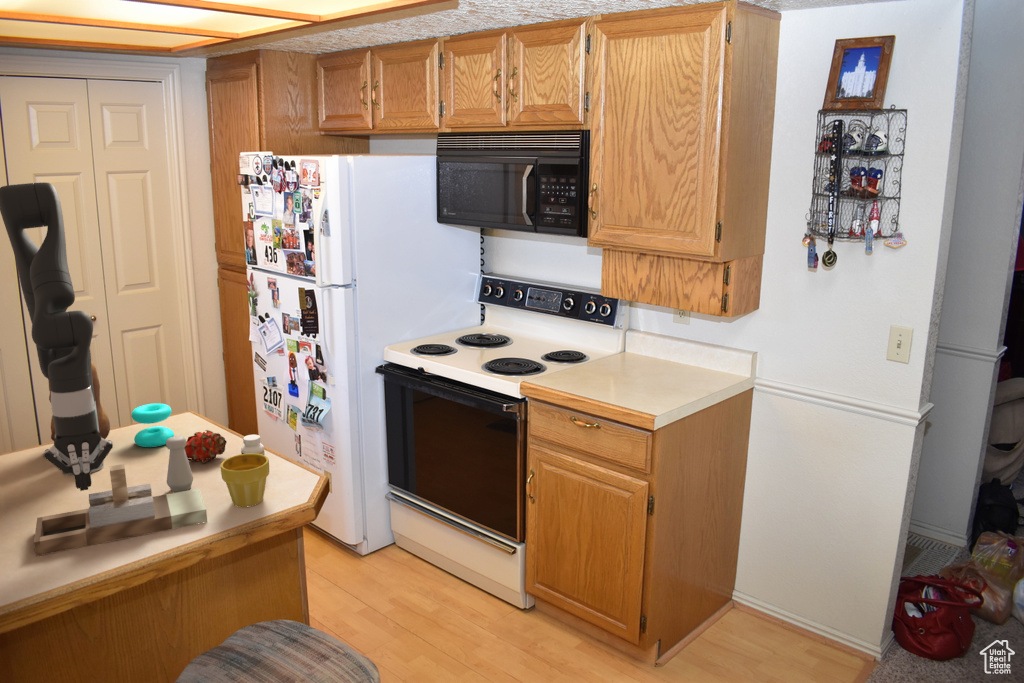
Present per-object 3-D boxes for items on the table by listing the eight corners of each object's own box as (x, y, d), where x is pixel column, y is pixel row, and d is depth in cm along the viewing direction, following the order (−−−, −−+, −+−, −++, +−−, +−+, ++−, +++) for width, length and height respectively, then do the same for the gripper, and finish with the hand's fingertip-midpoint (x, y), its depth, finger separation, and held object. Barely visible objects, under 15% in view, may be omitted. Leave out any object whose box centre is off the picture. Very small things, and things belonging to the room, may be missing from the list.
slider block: (107, 522, 163) (101, 475, 160) (106, 510, 168) (100, 465, 166) (139, 516, 166) (133, 469, 163) (137, 505, 171) (132, 460, 168)
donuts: (156, 399, 220) (178, 406, 215) (160, 433, 222) (182, 440, 217) (123, 409, 212) (144, 416, 207) (127, 444, 214) (148, 451, 209)
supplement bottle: (238, 476, 193) (235, 439, 191) (253, 468, 198) (250, 432, 196) (256, 480, 191) (253, 442, 189) (270, 471, 196) (267, 435, 194)
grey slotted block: (91, 529, 160) (88, 513, 159) (90, 509, 169) (88, 494, 168) (155, 517, 165) (153, 501, 164) (151, 498, 174) (150, 483, 173)
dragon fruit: (232, 462, 206) (184, 476, 201) (225, 436, 210) (178, 450, 206) (228, 445, 199) (179, 459, 195) (221, 419, 204) (172, 432, 199)
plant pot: (252, 514, 173) (248, 473, 171) (214, 507, 177) (210, 466, 174) (280, 495, 183) (278, 456, 180) (244, 489, 186) (241, 450, 184)
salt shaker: (184, 495, 182) (178, 443, 179) (162, 493, 184) (156, 441, 180) (199, 485, 188) (194, 434, 185) (177, 483, 189) (172, 432, 186)
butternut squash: (98, 435, 220) (87, 349, 214) (120, 447, 212) (109, 357, 206) (45, 449, 210) (31, 359, 204) (66, 462, 202) (53, 368, 196)
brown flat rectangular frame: (36, 556, 155) (33, 542, 154) (39, 530, 165) (37, 517, 165) (207, 521, 170) (206, 509, 169) (200, 500, 180) (199, 488, 179)
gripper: (34, 420, 152) (46, 502, 156) (110, 410, 158) (120, 489, 162) (36, 408, 158) (48, 488, 163) (109, 399, 164) (119, 476, 168)
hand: (84, 488), depth 162 cm, fingers closed
